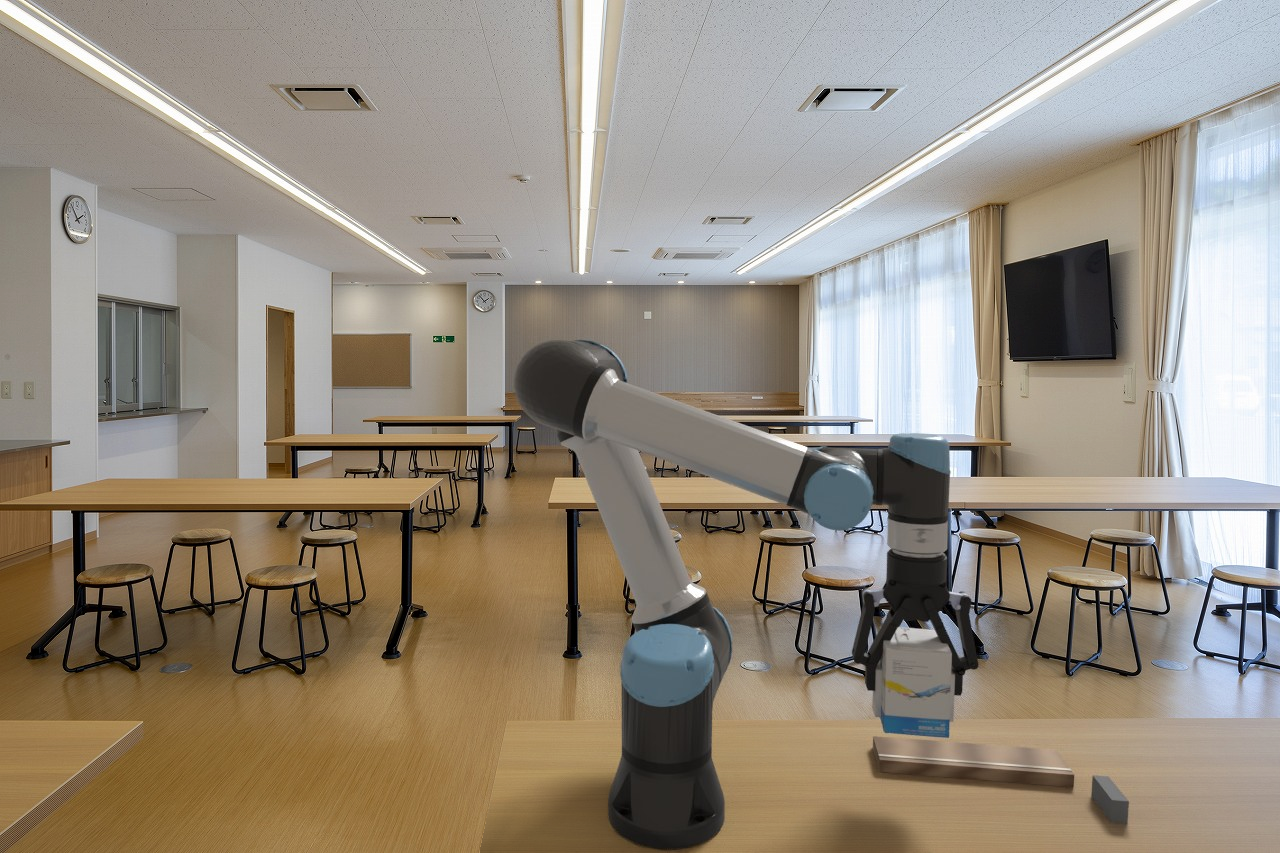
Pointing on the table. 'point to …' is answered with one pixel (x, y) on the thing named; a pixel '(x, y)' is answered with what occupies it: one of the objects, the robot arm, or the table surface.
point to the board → (972, 761)
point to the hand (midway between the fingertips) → (912, 714)
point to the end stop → (1110, 799)
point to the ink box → (916, 684)
